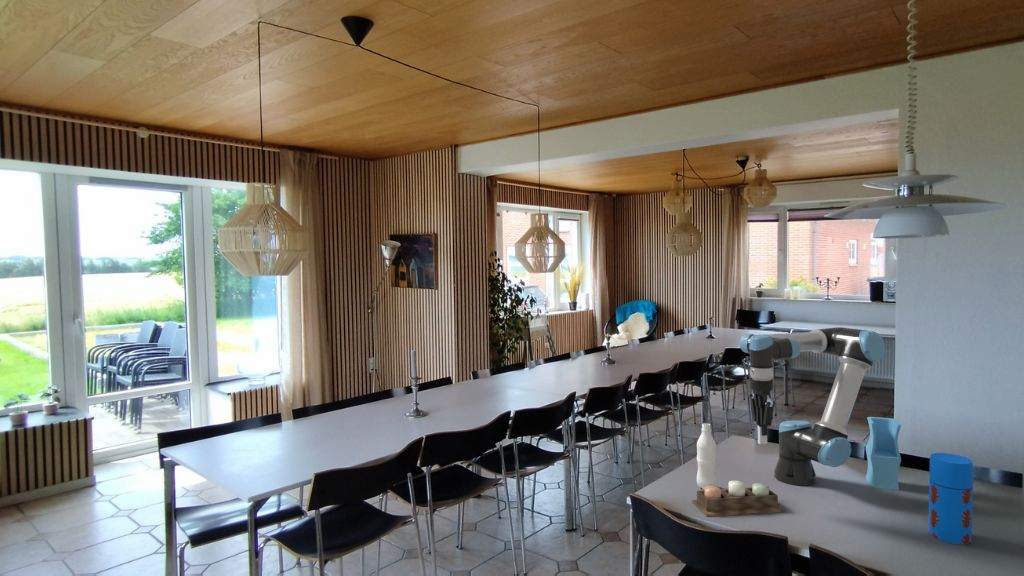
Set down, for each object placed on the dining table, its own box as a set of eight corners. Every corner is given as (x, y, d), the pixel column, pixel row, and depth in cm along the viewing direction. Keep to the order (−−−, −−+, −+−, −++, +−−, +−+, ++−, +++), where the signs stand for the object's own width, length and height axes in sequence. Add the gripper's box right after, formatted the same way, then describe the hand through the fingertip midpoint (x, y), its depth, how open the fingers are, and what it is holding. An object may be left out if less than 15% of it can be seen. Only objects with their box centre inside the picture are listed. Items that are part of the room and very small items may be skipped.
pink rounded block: (716, 499, 207) (716, 485, 207) (723, 505, 202) (723, 491, 202) (701, 499, 207) (701, 486, 206) (708, 506, 201) (708, 492, 201)
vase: (870, 486, 221) (871, 422, 220) (865, 477, 231) (866, 416, 229) (900, 490, 218) (901, 425, 217) (894, 481, 227) (895, 418, 226)
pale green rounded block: (763, 496, 209) (763, 482, 209) (772, 502, 204) (772, 488, 203) (749, 497, 208) (749, 483, 208) (757, 503, 203) (757, 489, 203)
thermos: (920, 529, 186) (921, 453, 185) (950, 527, 187) (952, 451, 186) (948, 545, 175) (949, 465, 174) (980, 543, 176) (982, 463, 175)
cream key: (740, 493, 208) (740, 480, 208) (748, 499, 203) (748, 485, 202) (725, 494, 207) (725, 480, 207) (733, 500, 202) (733, 486, 202)
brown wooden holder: (764, 497, 213) (764, 484, 212) (783, 511, 201) (783, 497, 200) (692, 502, 210) (692, 488, 209) (706, 516, 198) (706, 502, 198)
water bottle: (717, 492, 219) (717, 427, 217) (697, 490, 220) (697, 426, 219) (714, 484, 226) (714, 422, 224) (695, 483, 227) (695, 421, 226)
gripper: (742, 375, 212) (743, 438, 213) (761, 383, 199) (762, 450, 200) (761, 374, 212) (762, 437, 214) (782, 381, 199) (782, 448, 201)
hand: (762, 443), depth 207 cm, fingers closed
